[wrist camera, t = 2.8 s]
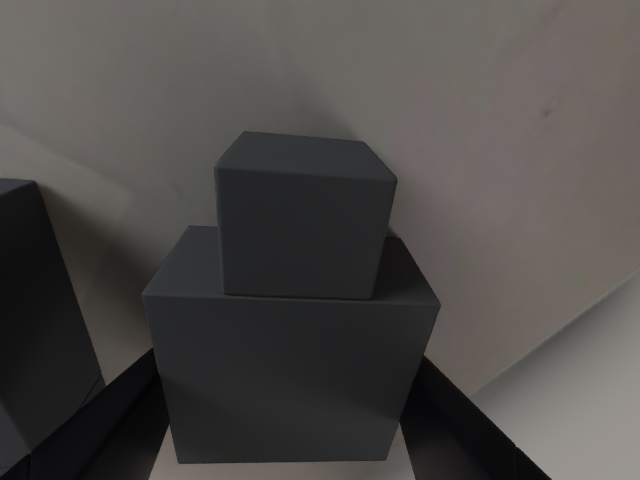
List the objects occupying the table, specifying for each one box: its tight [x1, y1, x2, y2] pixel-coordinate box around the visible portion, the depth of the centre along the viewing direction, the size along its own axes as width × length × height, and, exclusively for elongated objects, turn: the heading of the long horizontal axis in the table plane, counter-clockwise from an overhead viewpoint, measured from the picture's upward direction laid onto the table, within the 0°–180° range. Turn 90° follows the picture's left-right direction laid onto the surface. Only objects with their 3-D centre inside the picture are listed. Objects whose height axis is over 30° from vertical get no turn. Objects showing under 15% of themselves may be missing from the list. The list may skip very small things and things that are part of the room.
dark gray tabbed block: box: [142, 131, 441, 464], centre depth 8 cm, size 6×9×3 cm
